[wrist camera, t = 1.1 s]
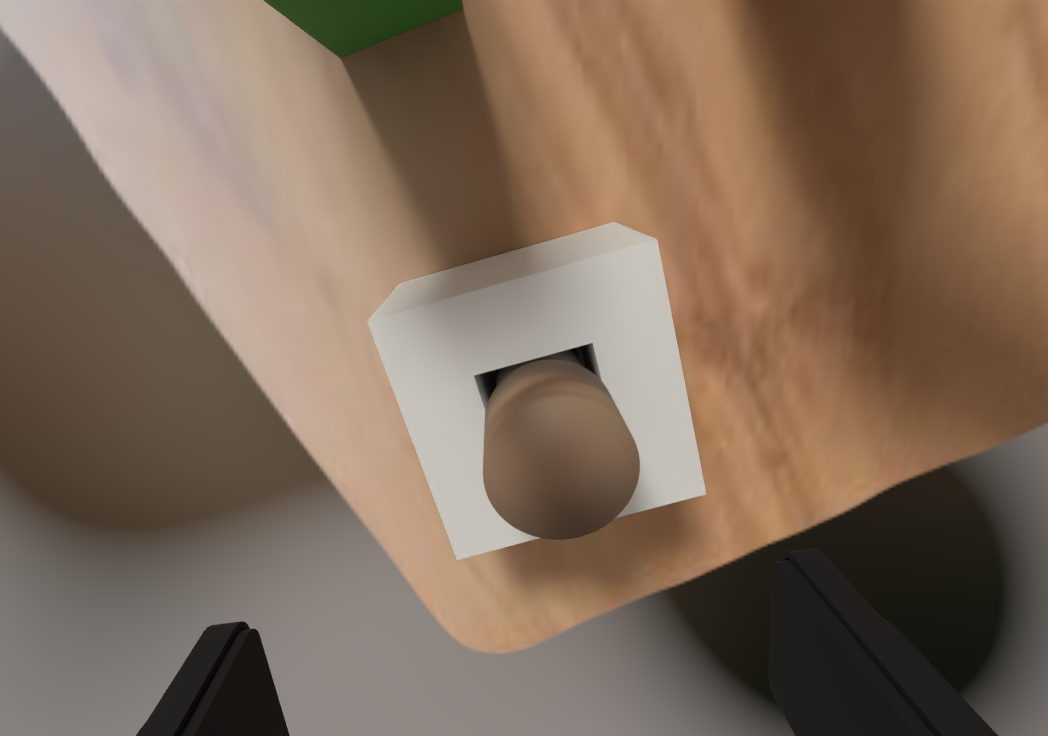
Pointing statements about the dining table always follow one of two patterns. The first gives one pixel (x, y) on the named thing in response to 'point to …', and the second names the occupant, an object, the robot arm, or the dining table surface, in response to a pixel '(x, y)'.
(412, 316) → the housing
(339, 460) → the dining table surface
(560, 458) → the brown rounded piece
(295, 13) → the hardback book
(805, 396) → the dining table surface
